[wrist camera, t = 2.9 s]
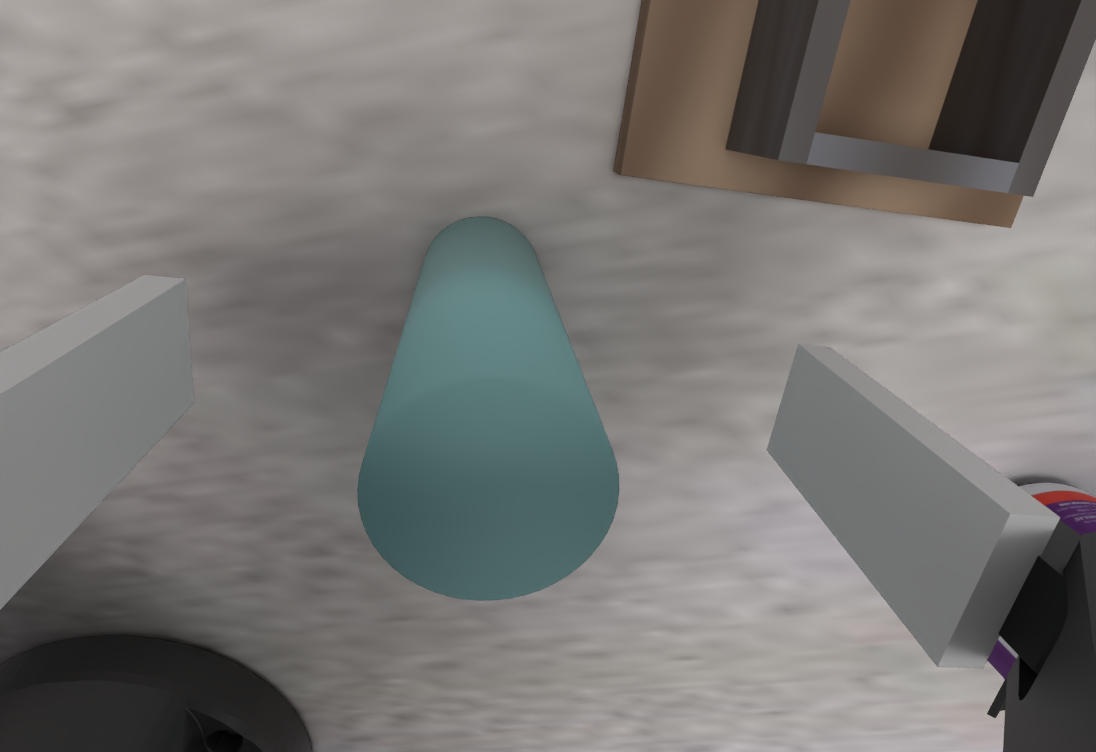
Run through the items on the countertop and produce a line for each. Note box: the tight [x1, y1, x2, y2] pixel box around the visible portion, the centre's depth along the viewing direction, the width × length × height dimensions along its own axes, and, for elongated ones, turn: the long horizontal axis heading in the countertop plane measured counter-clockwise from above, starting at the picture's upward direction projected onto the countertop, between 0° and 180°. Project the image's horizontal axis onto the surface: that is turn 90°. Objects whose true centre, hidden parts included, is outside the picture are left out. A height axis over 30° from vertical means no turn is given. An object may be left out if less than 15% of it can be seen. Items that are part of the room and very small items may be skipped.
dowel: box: [358, 217, 619, 600], centre depth 17 cm, size 4×4×14 cm
